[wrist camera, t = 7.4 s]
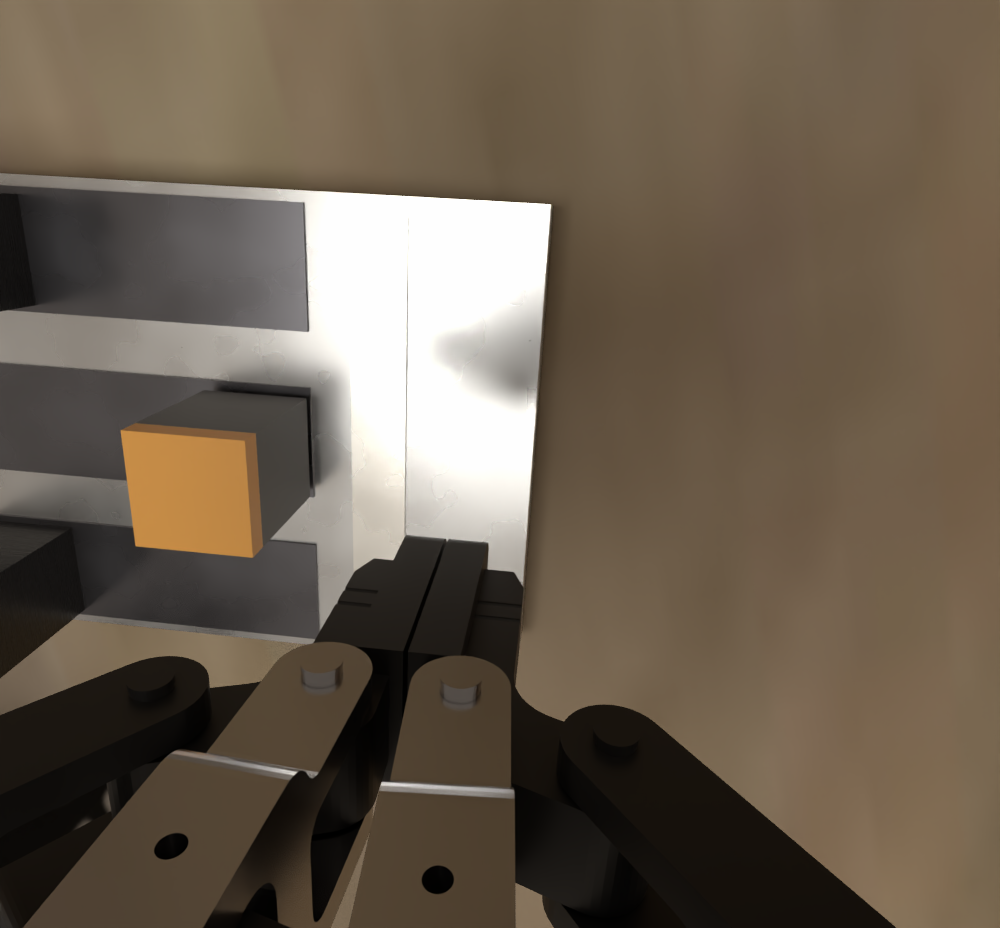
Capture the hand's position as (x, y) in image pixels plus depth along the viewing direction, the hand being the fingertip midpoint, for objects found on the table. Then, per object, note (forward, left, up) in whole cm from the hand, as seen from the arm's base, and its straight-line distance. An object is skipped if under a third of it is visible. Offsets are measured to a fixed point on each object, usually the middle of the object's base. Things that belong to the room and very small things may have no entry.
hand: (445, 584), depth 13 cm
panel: (+11, 0, -10) cm, 15 cm away
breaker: (+7, 0, -8) cm, 10 cm away
